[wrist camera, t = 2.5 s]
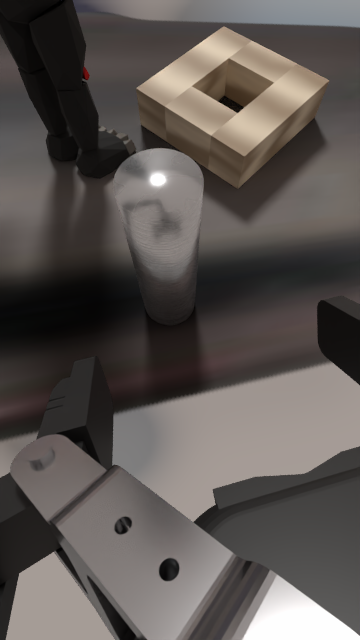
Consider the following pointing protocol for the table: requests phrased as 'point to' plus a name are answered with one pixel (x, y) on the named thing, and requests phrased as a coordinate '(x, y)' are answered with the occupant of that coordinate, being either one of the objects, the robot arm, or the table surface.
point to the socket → (220, 121)
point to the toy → (60, 83)
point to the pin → (162, 228)
